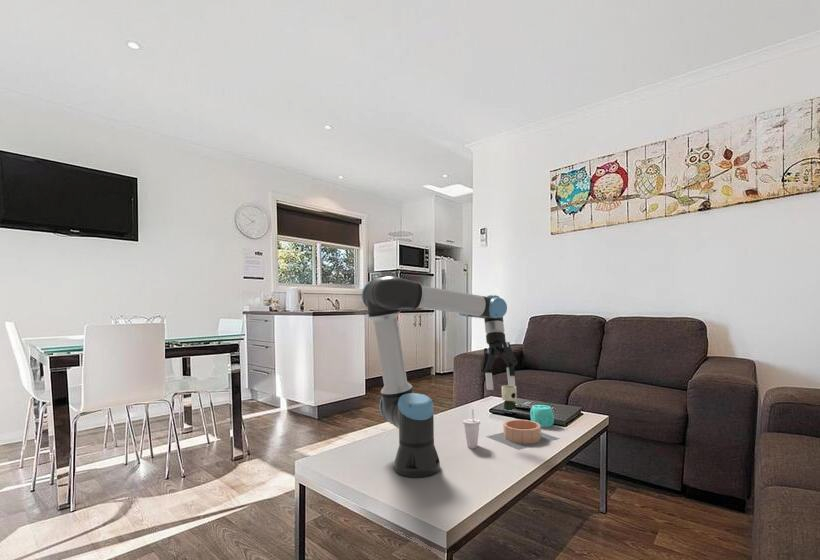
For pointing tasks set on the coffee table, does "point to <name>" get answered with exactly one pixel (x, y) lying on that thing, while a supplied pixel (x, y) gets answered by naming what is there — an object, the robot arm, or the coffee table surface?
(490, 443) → the coffee table surface
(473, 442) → the smoothie
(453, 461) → the coffee table surface
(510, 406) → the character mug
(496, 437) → the mat
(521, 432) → the bowl
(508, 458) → the coffee table surface
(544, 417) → the decorative dice
